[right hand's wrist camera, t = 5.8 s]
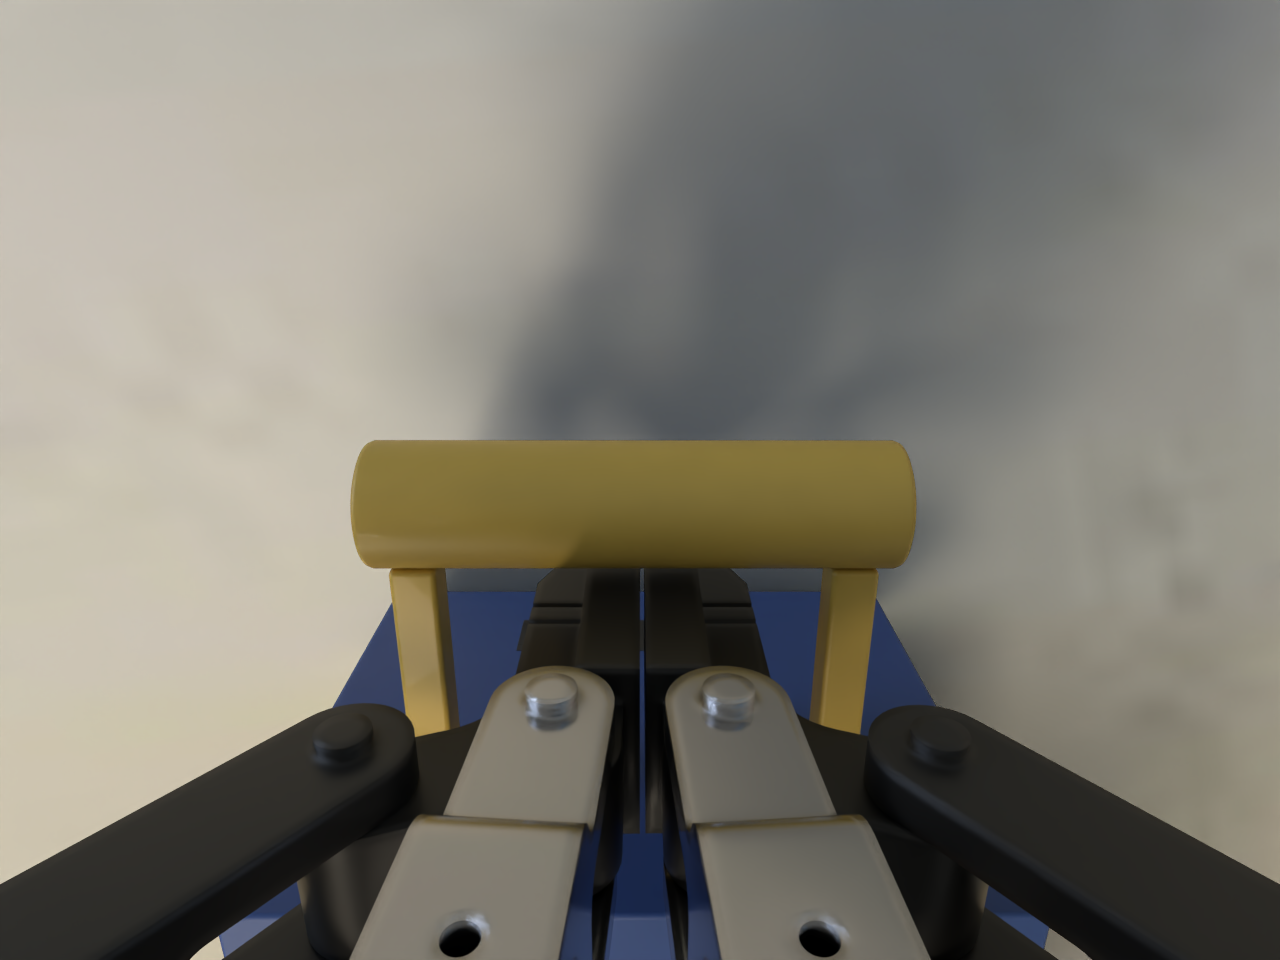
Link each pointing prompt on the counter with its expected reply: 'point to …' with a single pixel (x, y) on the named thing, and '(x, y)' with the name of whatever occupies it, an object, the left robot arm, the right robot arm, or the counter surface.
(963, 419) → the counter surface
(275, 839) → the right robot arm
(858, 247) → the counter surface
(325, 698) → the counter surface
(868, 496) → the drawer
